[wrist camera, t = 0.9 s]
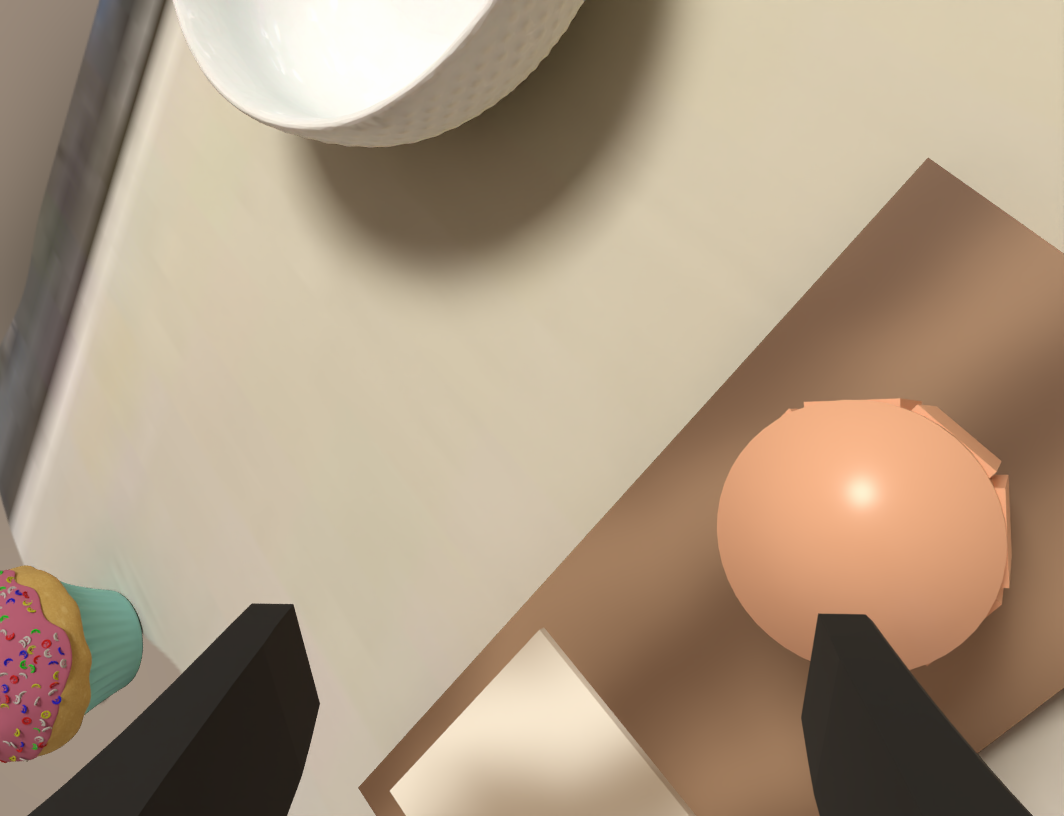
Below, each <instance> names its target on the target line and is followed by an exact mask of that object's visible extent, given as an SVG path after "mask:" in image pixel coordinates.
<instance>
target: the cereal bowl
mask: <svg viewBox="0 0 1064 816" xmlns="http://www.w3.org/2000/svg"><path fill="white" fill-rule="evenodd" d="M584 1H585V0H173V3H174V7H175V10H176V14H177V17H178V21H179V24H180V27H181V30H182V33H183V35H184V37H185V40H186V42H187V44H188V47H189V49H190V51H191V53H192V55H193V56H194V58H195V60H196V62H197V63H198V65H199V67H200V68H201V70H202V72H203V73H204V75H205V76H206V78H207V79H208V80H209V82H210V83H211V84H212V85H213V86H214V87H215V89H216V90H217V91H218V92H219V93H220V94H221V95H222V96H223V97H224V98H225V99H226V100H228V101H229V102H230V103H231V104H232V105H234V106H235V107H236V108H237V109H239V110H240V111H241V112H243V113H245V114H246V115H248V116H250V117H251V118H253V119H255V120H257V121H258V122H260V123H263V124H265V125H268V126H270V127H273V128H276V129H278V130H281V131H283V132H285V133H290V134H295V135H298V136H301V137H303V138H306V139H314V140H318V141H320V142H323V143H327V144H339V145H343V146H347V147H352V146H361V147H369V148H372V147H390V146H397V145H401V144H411V143H416V142H419V141H421V140H425V139H428V138H432V137H436V136H438V135H440V134H442V133H444V132H446V131H448V130H451V129H454V128H457V127H459V126H460V125H462V124H463V123H465V122H467V121H469V120H471V119H473V118H474V117H477V116H479V115H480V114H481V113H482V112H483V111H485V110H487V109H488V108H490V107H493V106H495V104H496V103H497V102H498V101H500V100H501V99H502V98H504V97H505V96H507V95H508V94H509V93H510V92H512V91H513V90H514V89H515V88H516V87H517V86H518V85H519V84H520V83H521V82H522V81H524V80H526V79H527V77H528V76H529V74H530V73H531V72H533V71H534V70H536V68H537V67H538V65H539V63H540V62H541V61H542V60H543V59H544V58H545V57H547V56H548V54H549V52H550V51H551V49H552V47H553V46H554V45H555V44H557V43H558V41H559V39H560V37H561V35H562V34H564V33H565V32H566V31H567V29H568V27H569V25H570V23H571V21H572V20H573V19H574V17H575V16H576V14H577V12H578V10H579V8H580V7H581V5H582V4H583V3H584Z"/></svg>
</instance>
